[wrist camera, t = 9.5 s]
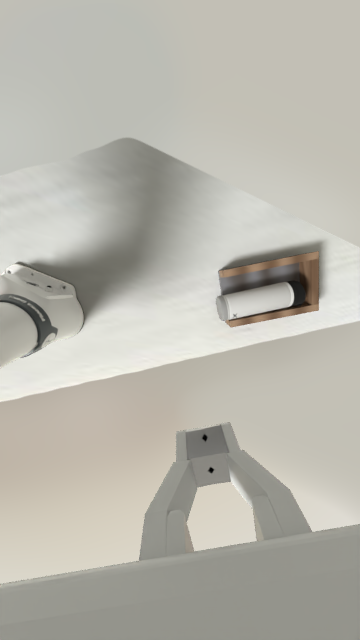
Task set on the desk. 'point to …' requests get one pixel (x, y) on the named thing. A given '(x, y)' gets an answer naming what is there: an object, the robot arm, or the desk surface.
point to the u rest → (270, 273)
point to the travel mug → (260, 300)
